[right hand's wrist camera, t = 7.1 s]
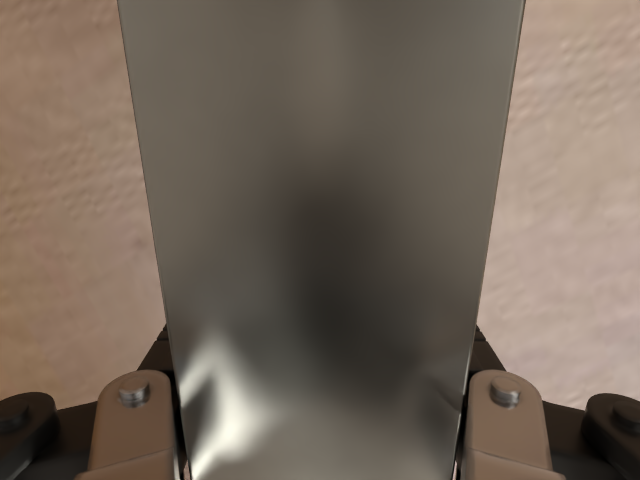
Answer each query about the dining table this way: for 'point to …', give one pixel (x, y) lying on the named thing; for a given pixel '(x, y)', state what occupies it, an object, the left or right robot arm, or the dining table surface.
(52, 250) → the dining table surface
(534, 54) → the dining table surface
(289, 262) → the bar
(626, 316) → the dining table surface
